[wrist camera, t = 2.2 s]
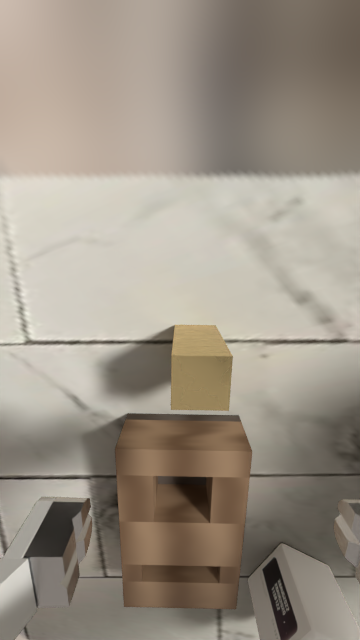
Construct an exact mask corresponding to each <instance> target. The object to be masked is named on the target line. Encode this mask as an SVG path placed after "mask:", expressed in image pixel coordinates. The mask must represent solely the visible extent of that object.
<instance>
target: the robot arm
mask: <svg viewBox="0 0 360 640" xmlns="http://www.w3.org/2000/svg"><path fill="white" fill-rule="evenodd" d="M90 507H91V505H90V498H70V497H41V498H40V499H39V500H38V501H37V502H36V503H35V505H34V507H33V508H32V510H31V512H30V513H29V515H28V517H27V518H26V520H25V521H24V523H23V525H22V526H21V528H20V530H19V531H18V533H17V535H16V536H15V538H14V540H13V541H12V543H11V545H10V546H9V548H8V550H7V551H6V553H5V554H4V556H3V558H0V640H15V639H16V637H17V636H18V635H19V633H20V632H21V631H22V630H23V628H24V627H25V626H26V624H27V623H28V622H29V621H30V619H31V618H32V617H33V615H34V614H35V613H36V612H37V608H53V607H69V606H70V603H71V600H72V597H73V593H74V590H75V587H76V584H77V581H78V578H79V566H78V564H79V563H80V562H81V561H82V560H83V558H84V557H85V556H86V553H87V550H88V547H89V543H90V538H91V533H92V517H91V516H90V515H89V514H88V513H89V510H90ZM337 509H338V510H339V512H340V515H339V516H338V517H337V518H335V521H334V533H335V538H336V540H337V543H338V545H339V548H340V550H341V551H342V553H343V555H344V557H345V558H346V559H347V560H348V561H349V562H350V563H351V564H353V565H354V566H355V572H356V578H357V580H358V582H359V583H360V499H342V500H340V501H339V502H338V507H337Z"/></svg>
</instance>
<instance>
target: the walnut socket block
mask: <svg viewBox="0 0 360 640" xmlns="http://www.w3.org/2000/svg"><path fill="white" fill-rule="evenodd" d="M115 458H116V475H117V492H118V509H119V527H120V544H121V561H122V578H123V596H124V607H162V608H207V609H236V606H237V596H238V586H239V576H240V567H241V557H242V547H243V537H244V527H245V518H246V508H247V498H248V488H249V478H250V469H251V459H252V450H251V447H250V444H249V442H248V439H247V436H246V434H245V431H244V428H243V426H242V423H241V420H240V418H239V416H233V415H179V414H127V417H126V420H125V423H124V425H123V428H122V431H121V434H120V436H119V439H118V442H117V445H116V448H115Z"/></svg>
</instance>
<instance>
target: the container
mask: <svg viewBox="0 0 360 640" xmlns="http://www.w3.org/2000/svg"><path fill="white" fill-rule="evenodd" d="M248 584H249V589H250V594H251V599H252V603H253V608H254V613H255V618H256V623H257V628H258V632H259V637H260V640H360V628H359V626H358V624H357V622H356V620H355V618H354V616H353V614H352V612H351V610H350V608H349V606H348V604H347V602H346V600H345V598H344V596H343V594H342V592H341V589H340V587H339V585H338V583H337V581H336V579H335V577H334V575H333V573H332V571H331V569H330V567H329V566H328V565H326V564H324V563H322V562H320V561H318V560H316V559H314V558H312V557H310V556H308V555H306V554H304V553H302V552H300V551H298V550H296V549H293V548H291V547H289V546H287V545H285V544H283V543H281V544H280V545H279V546H278V547H277V548H276V549H275V550H274V551H273V552H272V553H271V554H270V555H269V556H268V558H267V559H266V560H265V561H264V562H263V563H262V564H261V565H260V566H259V567H258V568H257V569H256V570H255V572H254V573H253V574H252V575H251V576H250V577H249V578H248Z"/></svg>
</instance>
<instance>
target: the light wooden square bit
mask: <svg viewBox="0 0 360 640" xmlns="http://www.w3.org/2000/svg"><path fill="white" fill-rule="evenodd" d="M232 358H233V356H232V354H231V353H230V351H229V349H228V347H227V345H226V343H225V342H224V340H223V338H222V336H221V334H220V333H219V331H218V329H217V327H216V325H175V329H174V337H173V346H172V354H171V410H222V411H229V400H230V386H231V372H232Z"/></svg>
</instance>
